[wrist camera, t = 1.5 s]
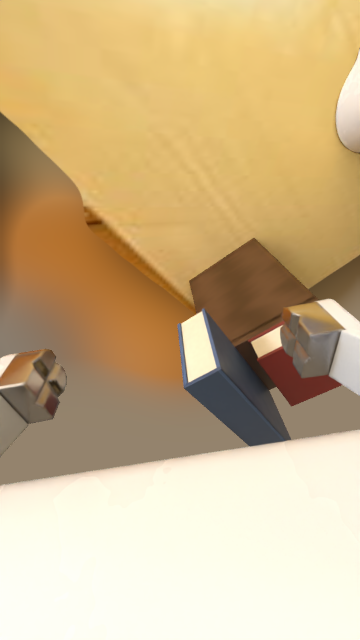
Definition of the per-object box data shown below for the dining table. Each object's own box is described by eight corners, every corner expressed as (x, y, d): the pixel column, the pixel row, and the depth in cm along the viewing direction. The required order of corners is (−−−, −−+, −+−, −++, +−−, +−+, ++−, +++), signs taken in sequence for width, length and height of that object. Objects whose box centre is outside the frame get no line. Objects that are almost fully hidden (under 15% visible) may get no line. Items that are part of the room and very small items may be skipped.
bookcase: (253, 237, 51) (320, 300, 30) (275, 279, 57) (343, 356, 36) (189, 280, 56) (207, 361, 35) (215, 314, 62) (244, 401, 41)
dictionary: (312, 305, 30) (330, 324, 27) (336, 359, 36) (354, 380, 33) (247, 339, 33) (257, 360, 30) (280, 385, 39) (291, 406, 36)
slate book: (204, 307, 30) (221, 369, 21) (269, 390, 40) (297, 453, 31) (177, 324, 31) (183, 388, 23) (247, 400, 41) (268, 463, 33)
